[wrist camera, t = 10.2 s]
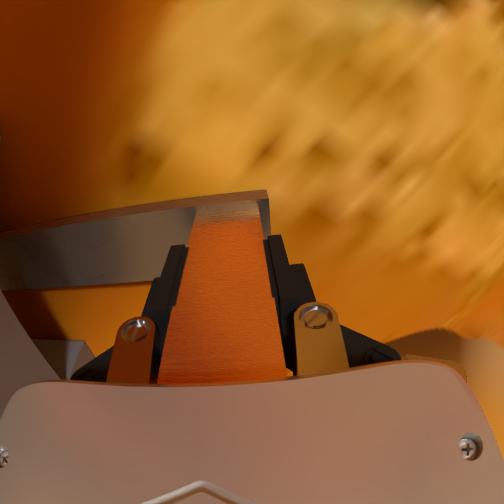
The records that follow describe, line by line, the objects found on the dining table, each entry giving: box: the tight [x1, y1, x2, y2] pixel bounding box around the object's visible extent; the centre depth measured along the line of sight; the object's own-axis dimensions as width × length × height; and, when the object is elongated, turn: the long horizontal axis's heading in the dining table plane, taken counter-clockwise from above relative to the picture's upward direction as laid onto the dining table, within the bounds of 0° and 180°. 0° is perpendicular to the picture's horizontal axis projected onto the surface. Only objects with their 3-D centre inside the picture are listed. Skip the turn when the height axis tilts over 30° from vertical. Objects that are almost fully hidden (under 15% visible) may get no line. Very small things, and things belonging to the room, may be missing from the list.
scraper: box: [0, 190, 287, 384], centre depth 11 cm, size 24×4×11 cm, turn 95°
